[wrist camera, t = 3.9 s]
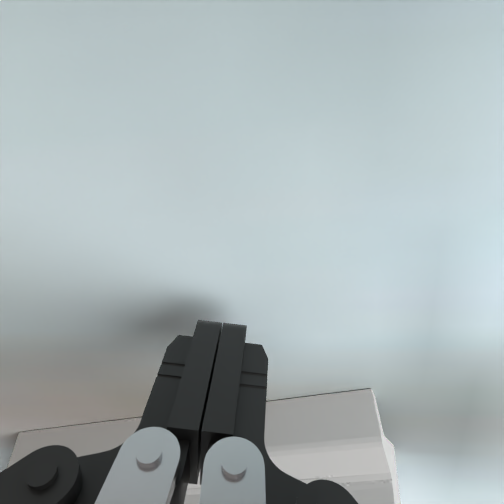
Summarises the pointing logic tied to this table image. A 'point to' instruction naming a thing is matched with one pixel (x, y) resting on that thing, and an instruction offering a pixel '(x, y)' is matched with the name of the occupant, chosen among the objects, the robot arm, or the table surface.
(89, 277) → the table surface
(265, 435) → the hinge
